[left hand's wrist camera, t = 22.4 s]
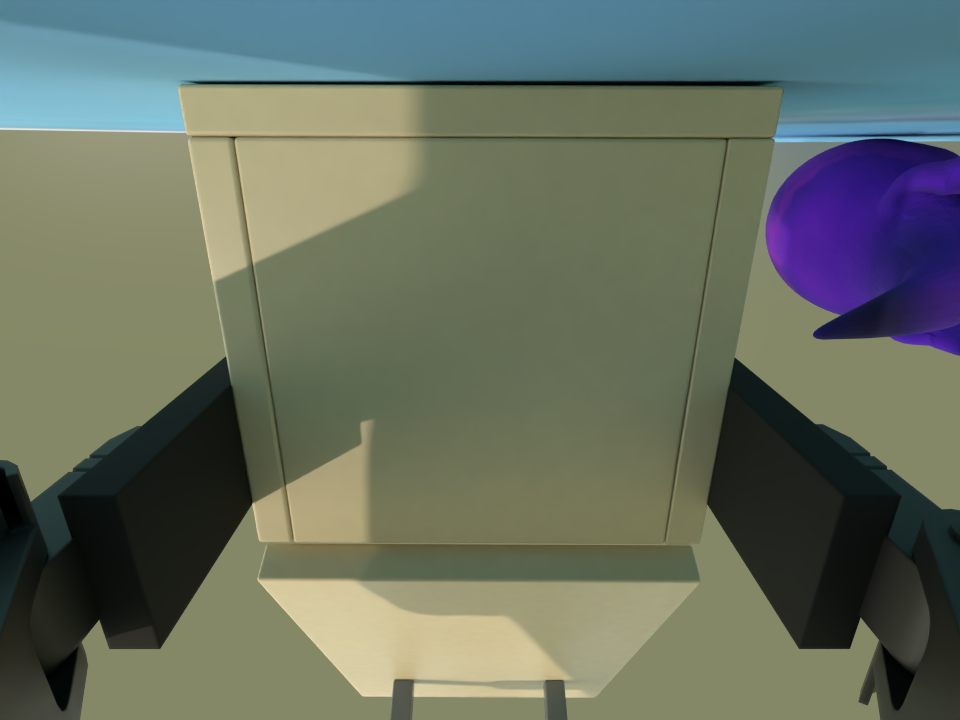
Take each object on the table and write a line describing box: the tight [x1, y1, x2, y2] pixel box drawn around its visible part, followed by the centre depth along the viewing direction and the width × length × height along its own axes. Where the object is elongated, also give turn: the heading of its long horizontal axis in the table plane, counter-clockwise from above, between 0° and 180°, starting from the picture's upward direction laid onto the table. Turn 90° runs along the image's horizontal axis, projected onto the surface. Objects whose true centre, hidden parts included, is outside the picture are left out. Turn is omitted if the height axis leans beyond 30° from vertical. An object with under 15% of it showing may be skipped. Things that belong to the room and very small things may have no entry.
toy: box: [766, 139, 960, 356], centre depth 45 cm, size 16×18×27 cm
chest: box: [178, 84, 783, 545], centre depth 16 cm, size 13×10×9 cm
